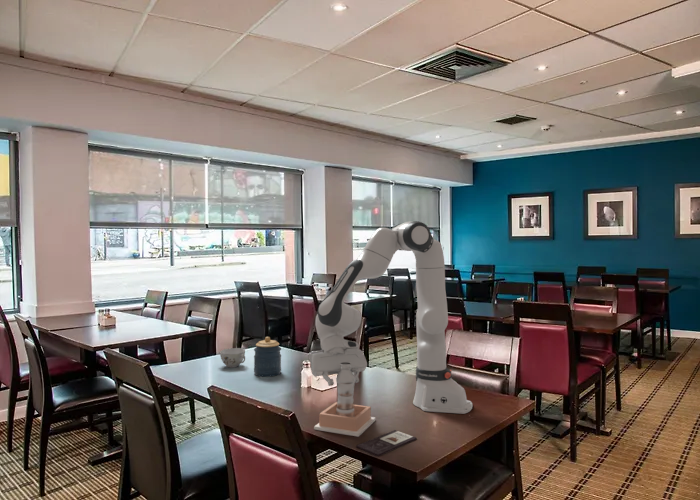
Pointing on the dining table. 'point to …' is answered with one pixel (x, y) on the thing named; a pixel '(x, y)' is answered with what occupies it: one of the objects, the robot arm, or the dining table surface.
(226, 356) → the teacup
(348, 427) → the open square box
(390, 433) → the chocolate bar
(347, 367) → the plastic bottle
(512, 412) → the dining table surface
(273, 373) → the canister
